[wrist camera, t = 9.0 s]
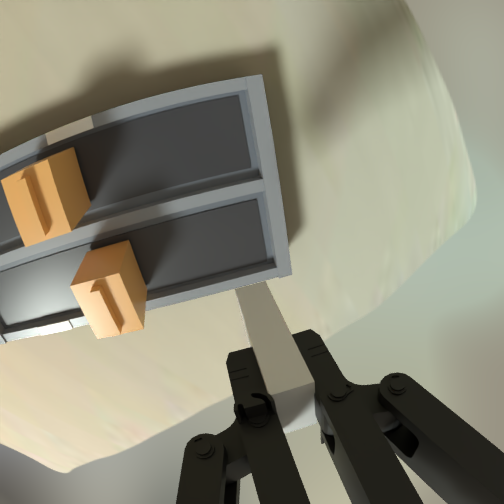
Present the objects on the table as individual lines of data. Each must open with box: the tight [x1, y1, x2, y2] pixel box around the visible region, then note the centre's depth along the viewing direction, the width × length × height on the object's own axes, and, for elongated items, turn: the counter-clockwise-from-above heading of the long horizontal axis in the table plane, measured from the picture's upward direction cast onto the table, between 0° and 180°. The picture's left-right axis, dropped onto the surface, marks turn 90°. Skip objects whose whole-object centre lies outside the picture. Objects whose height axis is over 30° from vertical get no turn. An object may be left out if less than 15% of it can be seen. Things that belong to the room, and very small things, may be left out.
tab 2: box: [70, 240, 147, 339], centre depth 19 cm, size 4×3×5 cm
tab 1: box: [1, 147, 91, 247], centre depth 15 cm, size 4×3×5 cm
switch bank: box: [0, 74, 292, 344], centre depth 20 cm, size 14×26×3 cm, turn 100°
